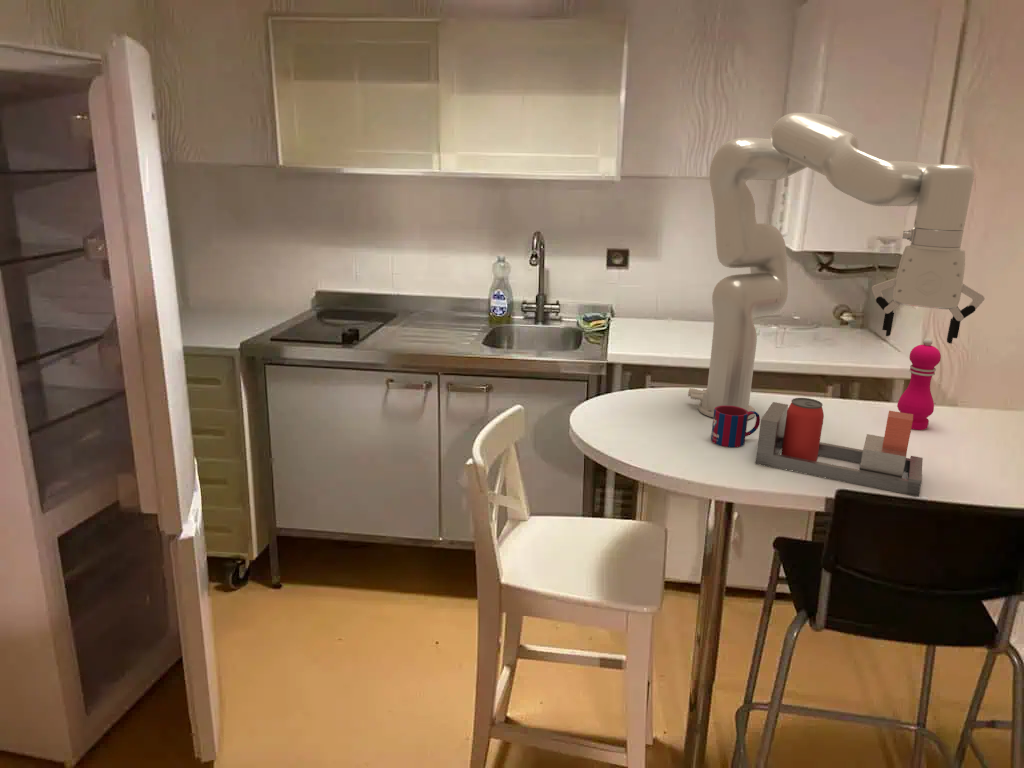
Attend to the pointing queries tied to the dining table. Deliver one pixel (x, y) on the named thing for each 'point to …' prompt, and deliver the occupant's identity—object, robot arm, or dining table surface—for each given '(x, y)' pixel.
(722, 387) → the robot arm
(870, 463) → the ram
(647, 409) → the dining table surface
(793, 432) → the beer can
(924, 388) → the pepper mill
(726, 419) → the mug
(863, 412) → the dining table surface
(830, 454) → the press frame
